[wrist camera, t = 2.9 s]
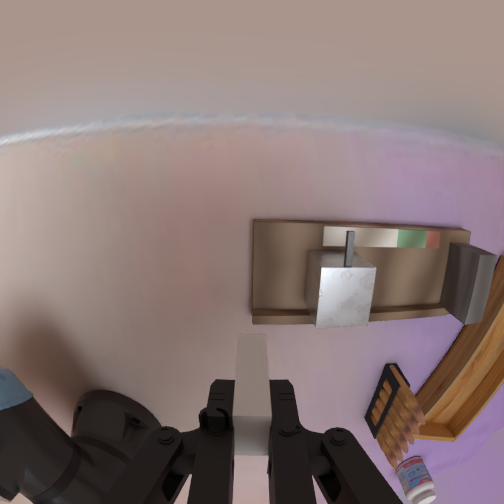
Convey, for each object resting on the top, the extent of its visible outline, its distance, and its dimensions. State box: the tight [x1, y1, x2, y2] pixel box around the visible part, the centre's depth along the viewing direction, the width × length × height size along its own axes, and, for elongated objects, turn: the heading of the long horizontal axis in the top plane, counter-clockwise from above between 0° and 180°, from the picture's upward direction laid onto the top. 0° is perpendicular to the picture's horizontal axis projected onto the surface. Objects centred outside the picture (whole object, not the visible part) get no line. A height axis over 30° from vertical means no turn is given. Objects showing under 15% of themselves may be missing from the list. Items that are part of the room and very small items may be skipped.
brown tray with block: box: [252, 219, 497, 325], centre depth 29 cm, size 27×11×8 cm, turn 89°
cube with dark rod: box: [305, 231, 376, 328], centre depth 28 cm, size 5×9×6 cm, turn 179°
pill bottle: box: [396, 457, 436, 504], centre depth 39 cm, size 6×6×11 cm
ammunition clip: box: [364, 364, 425, 469], centre depth 32 cm, size 11×2×12 cm, turn 175°
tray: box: [410, 256, 504, 442], centre depth 35 cm, size 31×15×6 cm, turn 154°
